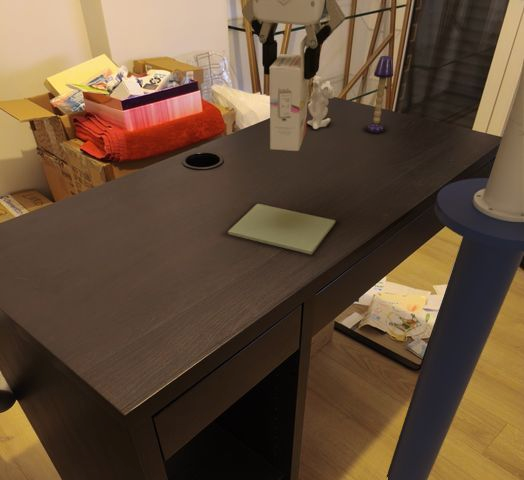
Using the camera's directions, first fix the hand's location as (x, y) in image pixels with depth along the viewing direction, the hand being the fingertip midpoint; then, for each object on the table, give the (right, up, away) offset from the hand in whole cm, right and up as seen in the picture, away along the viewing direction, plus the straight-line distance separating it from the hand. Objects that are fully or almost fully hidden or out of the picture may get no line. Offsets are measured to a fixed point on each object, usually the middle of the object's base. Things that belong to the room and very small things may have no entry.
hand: (290, 73), depth 72 cm
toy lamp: (+25, +16, +53) cm, 61 cm away
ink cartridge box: (0, -7, +7) cm, 10 cm away
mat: (-1, -20, +15) cm, 25 cm away
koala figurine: (+10, +18, +56) cm, 59 cm away
